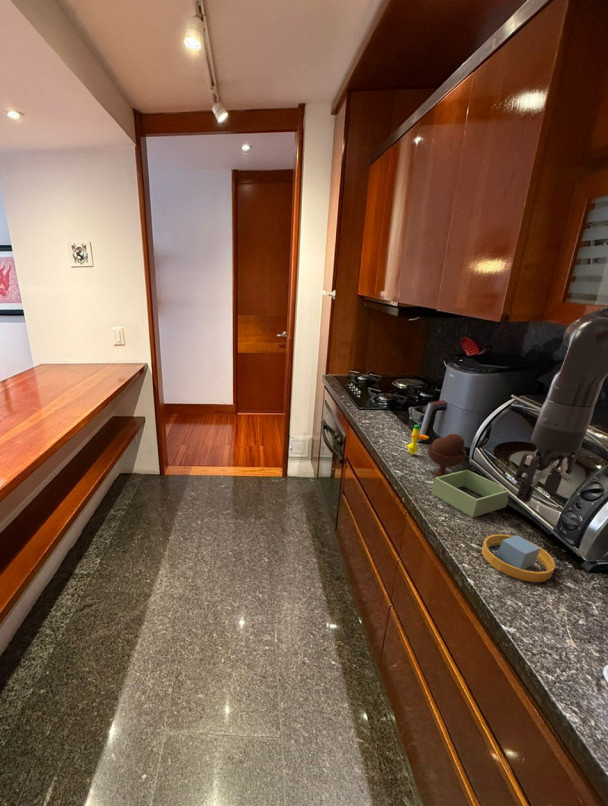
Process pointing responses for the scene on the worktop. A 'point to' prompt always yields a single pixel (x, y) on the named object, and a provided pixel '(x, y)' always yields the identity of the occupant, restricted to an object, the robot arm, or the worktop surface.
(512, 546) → the toy block
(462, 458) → the ice cream bowl
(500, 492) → the sage bin
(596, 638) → the worktop surface
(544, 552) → the wide orange band ring
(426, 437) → the toy figure
